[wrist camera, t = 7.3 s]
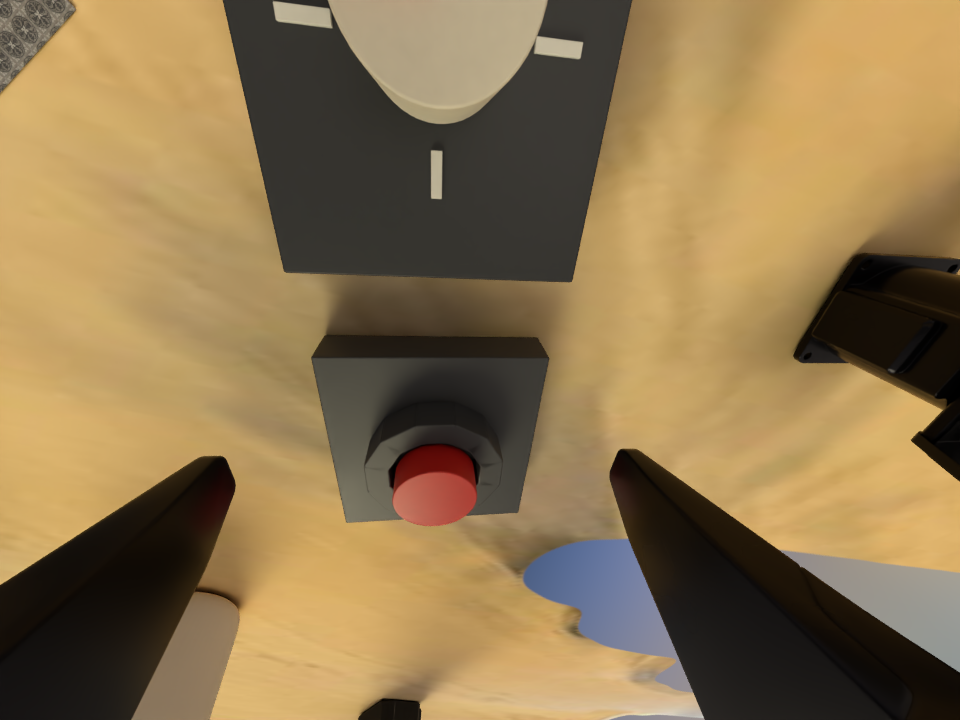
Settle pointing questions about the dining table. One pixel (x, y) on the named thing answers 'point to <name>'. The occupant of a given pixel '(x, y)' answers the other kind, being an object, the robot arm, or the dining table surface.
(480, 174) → the dial panel
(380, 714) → the portable radio
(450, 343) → the switch block
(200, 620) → the cup
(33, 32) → the architectural model
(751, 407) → the dining table surface
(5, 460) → the dining table surface
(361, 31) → the dial
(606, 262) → the dining table surface
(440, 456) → the power button
